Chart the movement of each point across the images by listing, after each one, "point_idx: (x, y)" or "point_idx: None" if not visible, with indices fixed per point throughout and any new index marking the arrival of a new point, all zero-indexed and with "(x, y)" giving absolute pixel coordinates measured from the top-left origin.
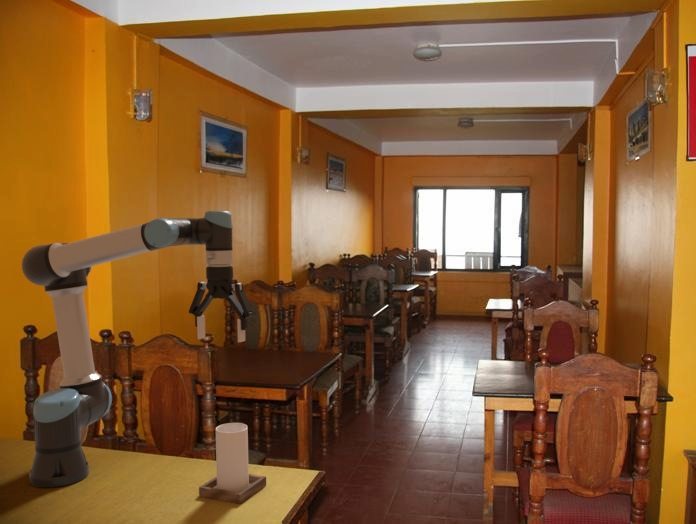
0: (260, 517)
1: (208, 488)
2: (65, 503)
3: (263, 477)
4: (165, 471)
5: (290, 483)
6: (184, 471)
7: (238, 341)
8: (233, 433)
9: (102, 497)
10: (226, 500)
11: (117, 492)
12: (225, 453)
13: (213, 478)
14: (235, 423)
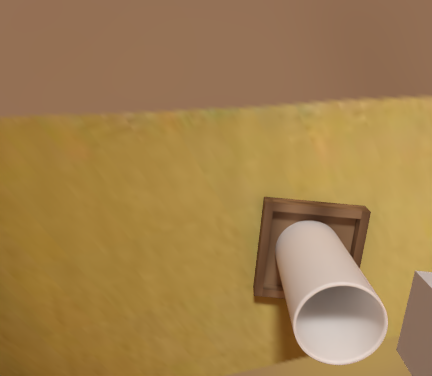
0: None
1: (275, 295)
2: (43, 367)
3: (366, 217)
4: (112, 200)
5: (414, 182)
6: (152, 188)
7: (405, 353)
8: (363, 357)
9: (84, 334)
10: None
11: (94, 311)
12: (326, 328)
13: (260, 250)
14: (333, 286)
